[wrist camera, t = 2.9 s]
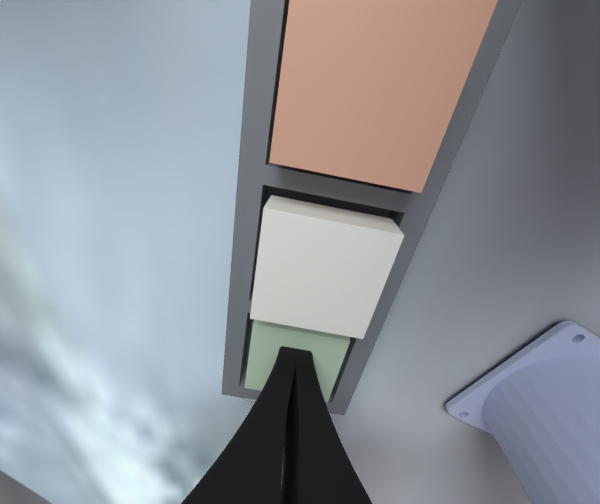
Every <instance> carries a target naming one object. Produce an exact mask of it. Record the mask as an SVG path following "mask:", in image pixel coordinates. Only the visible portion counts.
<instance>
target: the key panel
mask: <svg viewBox="0 0 600 504" xmlns="http://www.w3.org/2000/svg"><path fill="white" fill-rule="evenodd" d="M521 2H522V0H498V1H497V4H496V6H495V9H494V11H493V14H492V17H491V19H490V22H489V24H488V27H487V29H486V32H485V34H484V37H483V39H482V42H481V44H480V47H479V49H478V52H477V54H476V57H475V59H474V62H473V64H472V67H471V69H470V72H469V74H468V77H467V79H466V82H465V84H464V87H463V89H462V92H461V94H460V97H459V99H458V102H457V105H456V107H455V110H454V112H453V115H452V117H451V120H450V122H449V125H448V127H447V130H446V132H445V135H444V137H443V140H442V142H441V145H440V147H439V150H438V152H437V155H436V157H435V160H434V162H433V165H432V167H431V170H430V172H429V175H428V177H427V180H426V182H425V185H424V187H423V190H422V193H418V192H413V191H408V190H403V189H399V188H394V187H389V186H384V185H379V184H374V183H369V182H364V181H359V180H354V179H349V178H344V177H339V176H334V175H329V174H324V173H319V172H314V171H309V170H304V169H299V168H294V167H289V166H284V165H279V164H274V163H269V160H270V152H271V144H272V136H273V128H274V120H275V112H276V104H277V96H278V88H279V80H280V72H281V64H282V56H283V48H284V40H285V32H286V24H287V16H288V8H289V0H251V7H250V21H249V34H248V47H247V61H246V74H245V88H244V101H243V114H242V128H241V141H240V154H239V168H238V181H237V195H236V208H235V221H234V235H233V248H232V262H231V275H230V288H229V302H228V315H227V329H226V342H225V355H224V369H223V382H222V394H224V395H230V396H235V397H241V398H244V400H248V401H254V402H256V400H257V398H258V397H259V395H260V393H261V391H259V390H254V389H248V388H244V387H245V379H246V372H247V364H248V357H249V349H250V342H251V334H252V327H253V322H254V319H250V312H251V304H252V296H253V288H254V280H255V272H256V264H257V256H258V248H259V240H260V232H261V224H262V216H263V208H264V206H265V204H266V203H267V201H268V200H269V198H270V197H271V195H274V196H279V197H284V198H289V199H294V200H299V201H304V202H309V203H314V204H319V205H325V206H330V207H335V208H340V209H345V210H350V211H355V212H360V213H365V214H370V215H375V216H380V217H385V218H390V219H392V220H393V221H394V222H395V224H396V225H397V226H398V227H399V229H400V230H401V231H402V233H403V234H404V238H403V240H402V243H401V245H400V248H399V250H398V253H397V255H396V258H395V260H394V263H393V265H392V268H391V270H390V273H389V276H388V278H387V281H386V283H385V286H384V288H383V291H382V293H381V296H380V298H379V301H378V303H377V306H376V308H375V311H374V313H373V316H372V318H371V321H370V323H369V326H368V328H367V331H366V333H365V336H364V338H363V339H359V338H354V337H350V344H349V346H348V349H347V352H346V354H345V357H344V360H343V362H342V365H341V368H340V371H339V373H338V376H337V379H336V381H335V384H334V387H333V390H332V392H331V395H330V398H329V400H328V402H325V403H326V406H327V409H328V411H329V413H334V414H340V415H344V414H345V412H346V409H347V407H348V405H349V402H350V400H351V398H352V395H353V393H354V391H355V389H356V386H357V384H358V382H359V379H360V377H361V375H362V372H363V370H364V368H365V365H366V363H367V361H368V358H369V356H370V354H371V351H372V349H373V347H374V344H375V342H376V340H377V337H378V335H379V333H380V330H381V328H382V326H383V323H384V321H385V319H386V316H387V314H388V312H389V309H390V307H391V305H392V302H393V300H394V298H395V295H396V293H397V291H398V288H399V286H400V284H401V281H402V279H403V277H404V274H405V272H406V270H407V267H408V265H409V263H410V260H411V258H412V256H413V253H414V251H415V249H416V246H417V244H418V242H419V239H420V237H421V235H422V233H423V230H424V228H425V226H426V223H427V221H428V219H429V216H430V214H431V212H432V209H433V207H434V205H435V202H436V200H437V198H438V195H439V193H440V191H441V188H442V186H443V184H444V181H445V179H446V177H447V174H448V172H449V170H450V167H451V165H452V163H453V160H454V158H455V156H456V153H457V151H458V149H459V146H460V144H461V142H462V139H463V137H464V135H465V132H466V130H467V128H468V125H469V123H470V121H471V118H472V116H473V114H474V111H475V109H476V107H477V104H478V102H479V100H480V97H481V95H482V93H483V90H484V88H485V86H486V83H487V81H488V79H489V77H490V74H491V72H492V70H493V67H494V65H495V63H496V60H497V58H498V56H499V53H500V51H501V49H502V46H503V44H504V42H505V39H506V37H507V35H508V32H509V30H510V28H511V25H512V23H513V21H514V18H515V16H516V14H517V11H518V9H519V7H520V4H521Z"/></svg>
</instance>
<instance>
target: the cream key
mask: <svg viewBox="0 0 600 504" xmlns="http://www.w3.org/2000/svg"><path fill="white" fill-rule="evenodd" d="M403 238H404V234H403V233H402V231H401V230H400V229H399V227H398V226H397V225H396V224H395V222H394V221H393V220H392V219H390V218H385V217H380V216H375V215H370V214H365V213H360V212H355V211H350V210H345V209H340V208H335V207H330V206H325V205H319V204H314V203H309V202H304V201H299V200H294V199H289V198H284V197H279V196H274V195H271V197H270V198H269V200H268V201H267V203H266V204H265V206H264V208H263V216H262V224H261V232H260V240H259V248H258V256H257V264H256V272H255V280H254V288H253V296H252V304H251V312H250V319H255V320H260V321H266V322H271V323H277V324H282V325H288V326H293V327H299V328H304V329H310V330H315V331H321V332H326V333H332V334H337V335H343V336H348V337H354V338H359V339H363V338H364V336H365V333H366V331H367V328H368V326H369V323H370V321H371V318H372V316H373V313H374V311H375V308H376V306H377V303H378V301H379V298H380V296H381V293H382V291H383V288H384V286H385V283H386V281H387V278H388V276H389V273H390V270H391V268H392V265H393V263H394V260H395V258H396V255H397V253H398V250H399V248H400V245H401V243H402V240H403Z"/></svg>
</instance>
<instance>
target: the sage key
mask: <svg viewBox="0 0 600 504" xmlns="http://www.w3.org/2000/svg"><path fill="white" fill-rule="evenodd" d="M349 344H350V337H348V336H343V335H337V334H332V333H326V332H321V331H315V330H310V329H304V328H299V327H293V326H288V325H282V324H277V323H271V322H266V321H260V320H255V319H254V322H253V327H252V334H251V342H250V349H249V357H248V364H247V372H246V379H245V387H244V388H248V389H254V390H259V391H262V389H263V388H264V386H265V384H266V381H267V379H268V377H269V375H270V373H271V371H272V369H273V366H274V364H275V361H276V359H277V356H278V352H279V348H280V347H282V346H285V347H291V348H296V349H302V350H308V351H311V352H312V355H313V360H314V365H315V370H316V373H317V377H318V381H319V384H320V388H321V391H322V394H323V397H324V400H325V402H328V400H329V398H330V395H331V392H332V390H333V387H334V384H335V381H336V379H337V376H338V373H339V371H340V368H341V365H342V362H343V360H344V357H345V354H346V352H347V349H348V346H349Z"/></svg>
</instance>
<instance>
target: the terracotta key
mask: <svg viewBox="0 0 600 504" xmlns="http://www.w3.org/2000/svg"><path fill="white" fill-rule="evenodd" d="M497 1H498V0H289V8H288V16H287V24H286V32H285V40H284V48H283V56H282V64H281V72H280V80H279V88H278V96H277V104H276V112H275V120H274V128H273V136H272V144H271V152H270V160H269V163H274V164H279V165H284V166H289V167H294V168H299V169H304V170H309V171H314V172H319V173H324V174H329V175H334V176H339V177H344V178H349V179H354V180H359V181H364V182H369V183H374V184H379V185H384V186H389V187H394V188H399V189H403V190H408V191H413V192H418V193H422V190H423V187H424V185H425V182H426V180H427V177H428V175H429V172H430V170H431V167H432V165H433V162H434V160H435V157H436V155H437V152H438V150H439V147H440V145H441V142H442V140H443V137H444V135H445V132H446V130H447V127H448V125H449V122H450V120H451V117H452V115H453V112H454V110H455V107H456V105H457V102H458V99H459V97H460V94H461V92H462V89H463V87H464V84H465V82H466V79H467V77H468V74H469V72H470V69H471V67H472V64H473V62H474V59H475V57H476V54H477V52H478V49H479V47H480V44H481V42H482V39H483V37H484V34H485V32H486V29H487V27H488V24H489V22H490V19H491V17H492V14H493V11H494V9H495V6H496V4H497Z"/></svg>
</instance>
